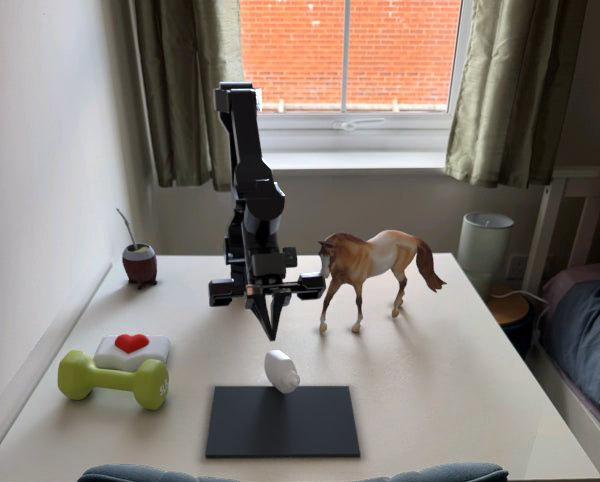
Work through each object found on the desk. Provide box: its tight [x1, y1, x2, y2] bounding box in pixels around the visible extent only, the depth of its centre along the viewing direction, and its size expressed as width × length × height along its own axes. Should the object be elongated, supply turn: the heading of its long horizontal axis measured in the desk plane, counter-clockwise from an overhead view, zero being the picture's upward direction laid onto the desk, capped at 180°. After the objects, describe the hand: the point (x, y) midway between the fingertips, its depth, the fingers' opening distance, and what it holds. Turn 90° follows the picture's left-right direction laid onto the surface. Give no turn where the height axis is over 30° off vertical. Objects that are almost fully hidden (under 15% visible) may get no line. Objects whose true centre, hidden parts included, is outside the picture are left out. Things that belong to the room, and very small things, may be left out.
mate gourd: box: [115, 207, 158, 290], centre depth 126 cm, size 8×8×15 cm
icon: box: [92, 333, 171, 373], centre depth 103 cm, size 12×4×10 cm
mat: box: [204, 385, 361, 459], centre depth 92 cm, size 17×22×1 cm
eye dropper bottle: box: [263, 349, 301, 393], centre depth 94 cm, size 4×6×12 cm
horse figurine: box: [317, 229, 448, 334], centre depth 112 cm, size 31×8×21 cm, turn 123°
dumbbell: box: [56, 349, 170, 411], centre depth 93 cm, size 16×8×7 cm, turn 79°
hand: (272, 340), depth 96 cm, fingers closed
